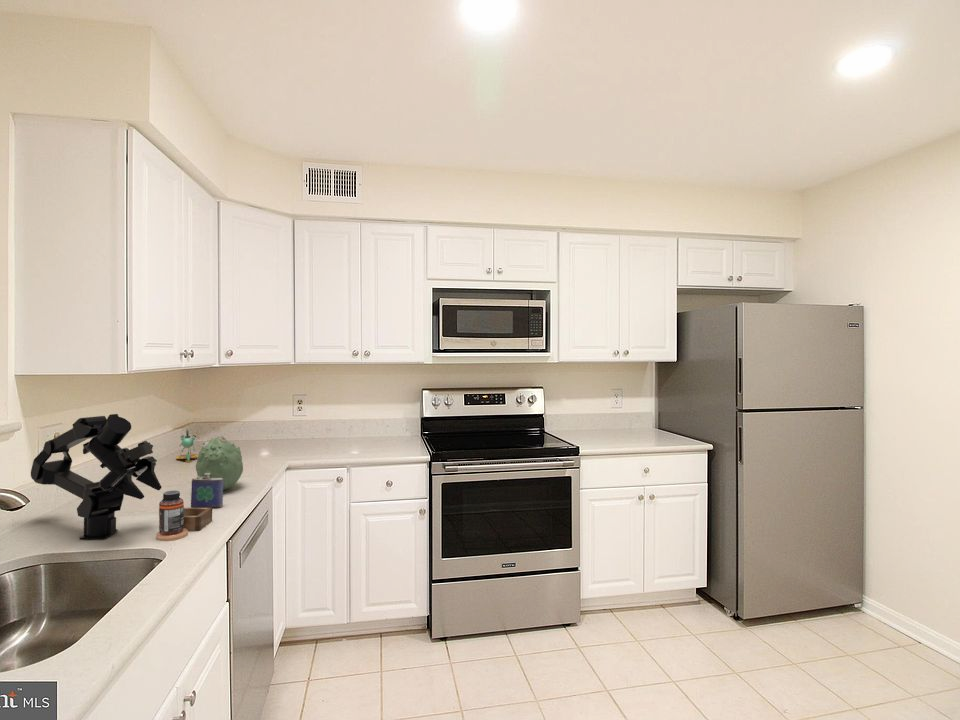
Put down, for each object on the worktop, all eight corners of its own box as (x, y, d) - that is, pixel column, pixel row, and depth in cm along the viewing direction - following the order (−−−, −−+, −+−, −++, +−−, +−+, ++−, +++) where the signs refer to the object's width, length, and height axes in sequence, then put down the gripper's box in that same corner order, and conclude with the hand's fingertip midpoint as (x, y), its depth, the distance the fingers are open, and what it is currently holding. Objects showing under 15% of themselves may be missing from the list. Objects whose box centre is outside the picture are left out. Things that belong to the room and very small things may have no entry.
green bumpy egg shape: (247, 483, 205) (248, 432, 204) (236, 496, 186) (237, 440, 186) (203, 484, 201) (204, 432, 201) (188, 498, 183) (189, 441, 182)
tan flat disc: (150, 540, 143) (150, 537, 143) (164, 531, 150) (164, 527, 150) (179, 540, 144) (179, 537, 143) (192, 531, 151) (192, 527, 151)
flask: (224, 506, 175) (224, 471, 175) (220, 509, 172) (220, 474, 172) (193, 506, 174) (193, 471, 174) (188, 509, 171) (189, 473, 171)
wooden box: (164, 530, 151) (164, 517, 150) (179, 520, 159) (179, 507, 159) (199, 530, 151) (199, 517, 151) (212, 520, 160) (212, 507, 160)
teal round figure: (169, 464, 233) (170, 430, 234) (179, 460, 250) (180, 429, 252) (193, 463, 236) (194, 429, 237) (202, 459, 253) (202, 428, 254)
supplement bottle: (158, 530, 148) (159, 490, 148) (183, 527, 151) (183, 488, 151) (159, 537, 143) (159, 496, 142) (184, 533, 146) (184, 493, 146)
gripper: (112, 439, 136) (156, 481, 137) (149, 428, 155) (188, 465, 156) (79, 469, 136) (124, 511, 137) (121, 455, 154) (160, 492, 155)
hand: (151, 493), depth 146 cm, fingers open, 9 cm apart
